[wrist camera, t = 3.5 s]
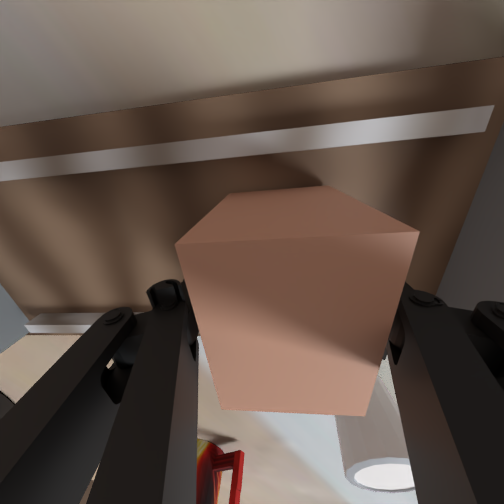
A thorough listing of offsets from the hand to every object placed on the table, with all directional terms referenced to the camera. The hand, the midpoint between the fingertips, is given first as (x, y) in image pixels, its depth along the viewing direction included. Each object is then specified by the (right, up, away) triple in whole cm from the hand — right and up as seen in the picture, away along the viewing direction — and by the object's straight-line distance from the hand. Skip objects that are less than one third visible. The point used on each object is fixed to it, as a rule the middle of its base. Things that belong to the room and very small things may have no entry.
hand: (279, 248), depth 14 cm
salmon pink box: (0, 0, 0) cm, 0 cm away
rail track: (-7, 0, +2) cm, 7 cm away
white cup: (+10, -15, +8) cm, 20 cm away
